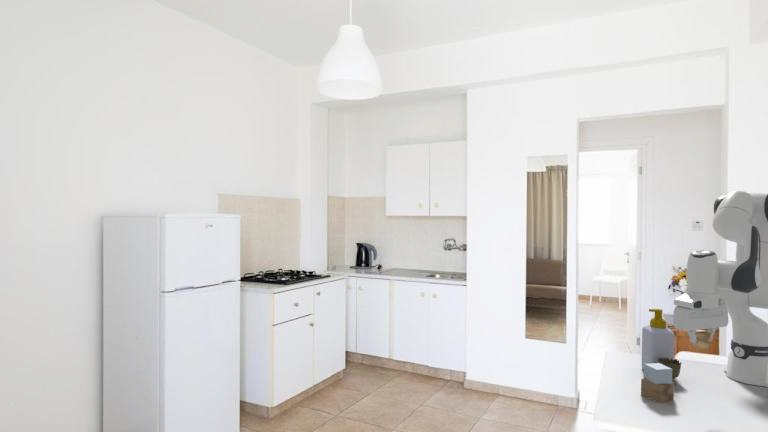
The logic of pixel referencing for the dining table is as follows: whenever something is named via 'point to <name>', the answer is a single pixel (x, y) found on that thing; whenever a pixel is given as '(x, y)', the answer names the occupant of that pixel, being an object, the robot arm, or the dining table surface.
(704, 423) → the dining table surface
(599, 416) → the dining table surface
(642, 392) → the tower base
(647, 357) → the soap bottle
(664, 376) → the tower top block
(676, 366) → the cup
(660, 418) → the dining table surface
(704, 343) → the beech cylinder
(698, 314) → the robot arm
